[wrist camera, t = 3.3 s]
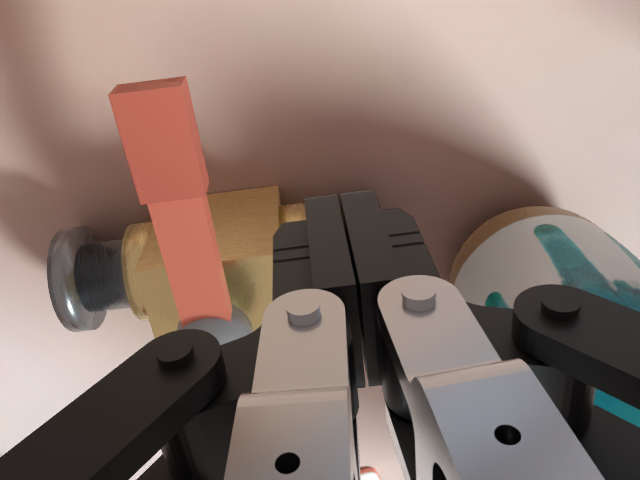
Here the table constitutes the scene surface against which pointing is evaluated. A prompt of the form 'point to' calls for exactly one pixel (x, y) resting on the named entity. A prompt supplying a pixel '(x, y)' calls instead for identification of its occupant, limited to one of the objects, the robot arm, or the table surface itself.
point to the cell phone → (369, 474)
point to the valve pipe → (149, 270)
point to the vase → (547, 266)
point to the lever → (177, 200)
